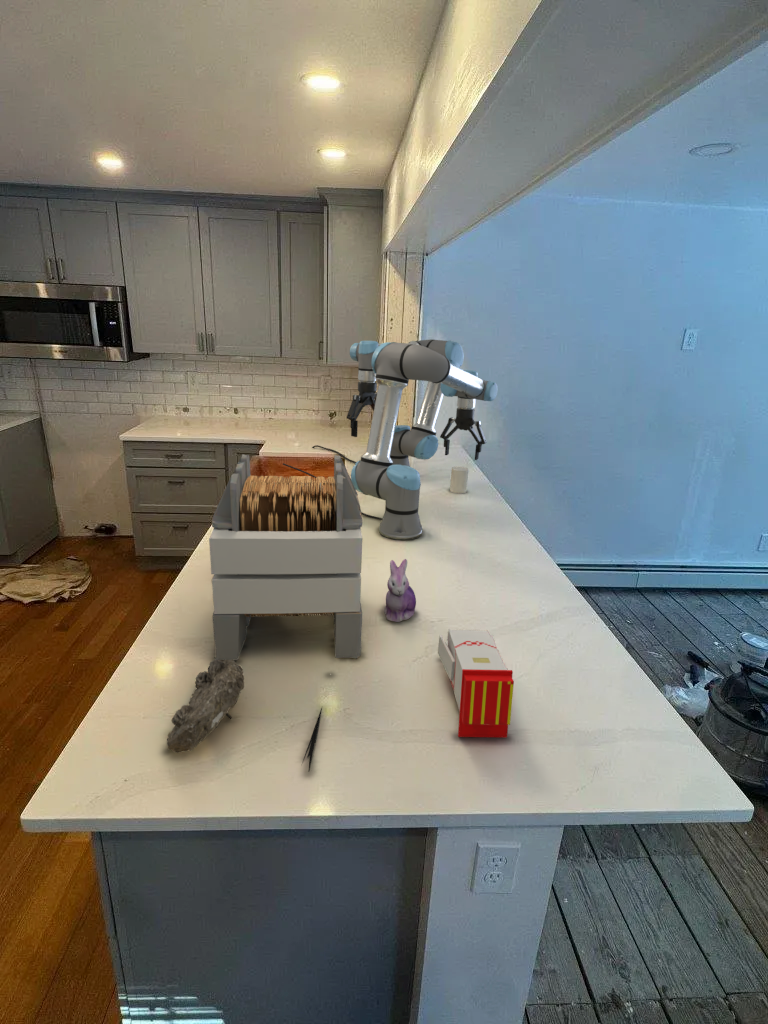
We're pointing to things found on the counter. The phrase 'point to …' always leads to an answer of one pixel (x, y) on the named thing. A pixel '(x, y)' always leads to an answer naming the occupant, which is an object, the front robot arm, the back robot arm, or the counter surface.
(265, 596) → the grey record crate stand
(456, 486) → the canister
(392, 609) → the figurine
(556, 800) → the counter surface
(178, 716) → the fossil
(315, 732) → the feather
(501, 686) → the toy
